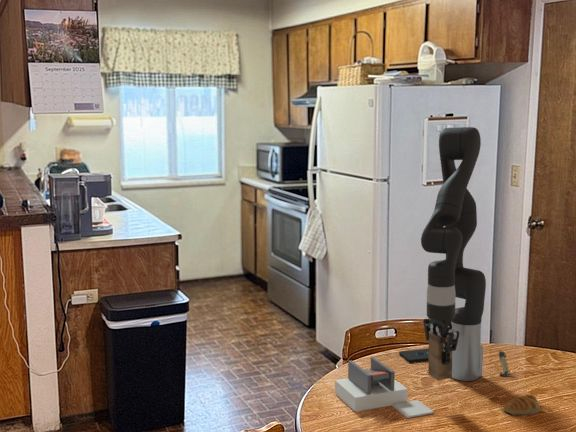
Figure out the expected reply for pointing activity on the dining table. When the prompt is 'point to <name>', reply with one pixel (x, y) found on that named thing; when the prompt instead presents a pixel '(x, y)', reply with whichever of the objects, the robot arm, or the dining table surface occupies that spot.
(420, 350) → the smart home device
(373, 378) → the rocker
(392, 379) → the grey slotted holder
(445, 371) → the peg
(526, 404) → the pastry
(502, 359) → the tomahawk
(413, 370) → the dining table surface
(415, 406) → the mat
